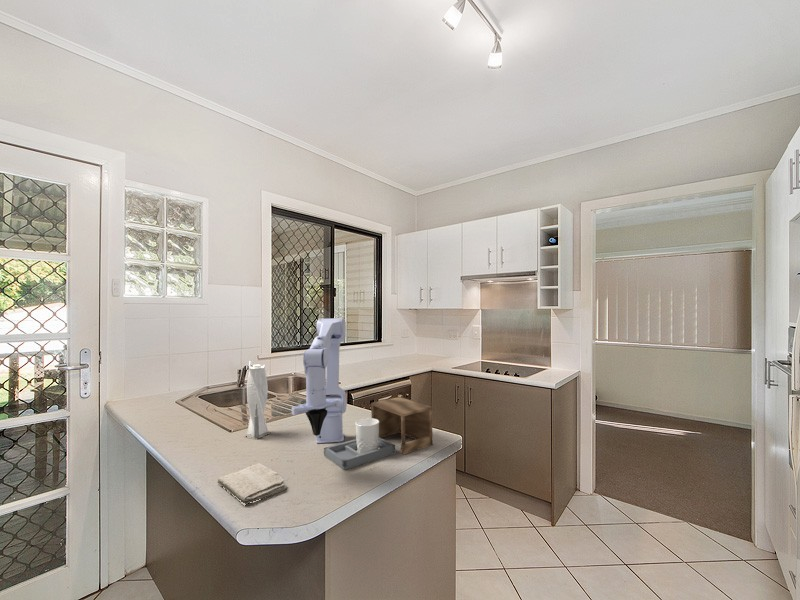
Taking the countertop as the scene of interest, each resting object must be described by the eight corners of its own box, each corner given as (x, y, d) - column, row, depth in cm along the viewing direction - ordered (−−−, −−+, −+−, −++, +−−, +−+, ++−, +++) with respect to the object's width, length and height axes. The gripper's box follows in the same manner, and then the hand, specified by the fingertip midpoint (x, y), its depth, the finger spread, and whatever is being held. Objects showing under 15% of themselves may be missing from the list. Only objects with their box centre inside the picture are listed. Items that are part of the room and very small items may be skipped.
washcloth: (245, 510, 85) (245, 497, 85) (215, 486, 97) (215, 474, 97) (289, 490, 94) (289, 478, 94) (257, 470, 106) (257, 460, 106)
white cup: (376, 458, 113) (375, 426, 113) (352, 456, 114) (352, 425, 114) (382, 448, 120) (381, 418, 121) (360, 446, 122) (359, 417, 122)
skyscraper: (240, 436, 134) (239, 362, 135) (257, 429, 141) (256, 359, 142) (256, 439, 130) (256, 363, 131) (273, 432, 138) (272, 360, 138)
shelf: (403, 454, 115) (402, 414, 115) (371, 438, 129) (371, 402, 130) (432, 444, 123) (431, 406, 123) (400, 430, 137) (399, 396, 138)
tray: (343, 470, 104) (343, 461, 105) (324, 456, 115) (324, 447, 115) (395, 453, 116) (395, 445, 116) (373, 441, 126) (373, 434, 126)
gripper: (297, 395, 99) (298, 444, 99) (343, 387, 108) (344, 432, 108) (288, 390, 105) (289, 437, 104) (333, 383, 114) (333, 426, 113)
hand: (316, 434), depth 106 cm, fingers closed
